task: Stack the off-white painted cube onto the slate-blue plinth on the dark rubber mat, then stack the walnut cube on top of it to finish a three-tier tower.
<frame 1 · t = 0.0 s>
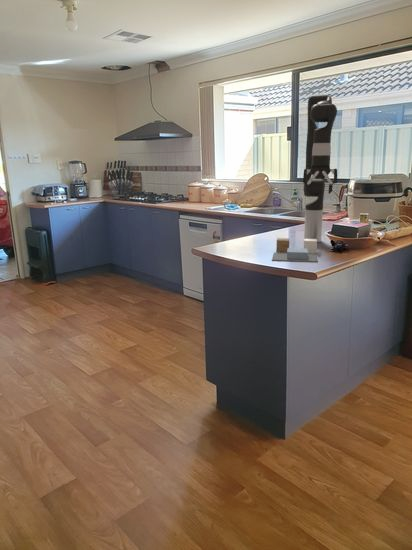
hand: (319, 193, 186), 29 cm above the countertop, fingers open, 8 cm apart
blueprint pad: (297, 257, 198), on the countertop
walnut block: (282, 251, 212), on the countertop
white block: (309, 252, 210), on the countertop
toy: (338, 250, 213), on the countertop
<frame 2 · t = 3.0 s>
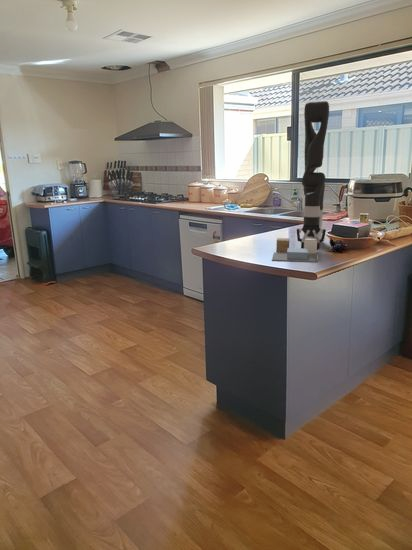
hand: (310, 249, 209), 1 cm above the countertop, fingers closed on white block, 6 cm apart
white block: (309, 251, 210), on the countertop, touching gripper
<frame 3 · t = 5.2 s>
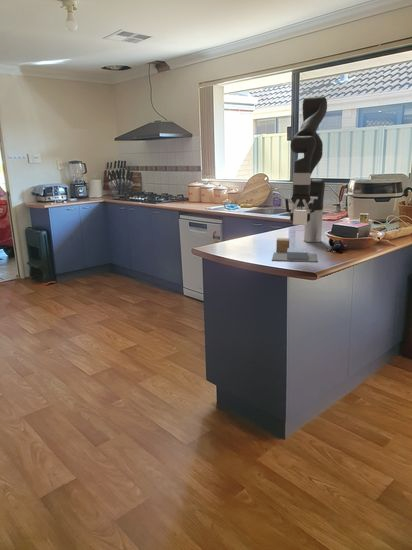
hand: (299, 221, 193), 17 cm above the countertop, fingers closed on white block, 6 cm apart
white block: (299, 223, 194), point 16 cm above the countertop, touching gripper
when the fingers open (6 cm above the countertop, at t = 7.7 s): white block stays where it is, resting on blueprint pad.
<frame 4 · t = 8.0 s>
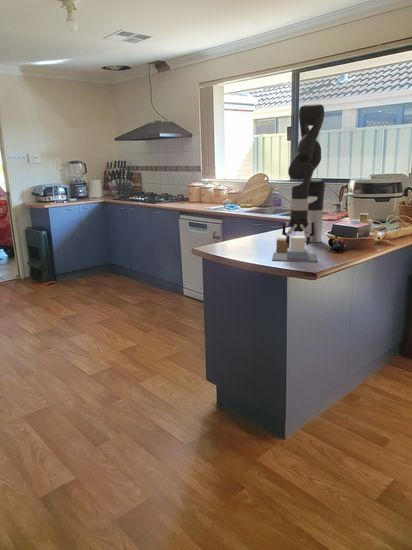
hand: (297, 244, 196), 6 cm above the countertop, fingers open, 8 cm apart
white block: (297, 250, 197), point 3 cm above the countertop, touching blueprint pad
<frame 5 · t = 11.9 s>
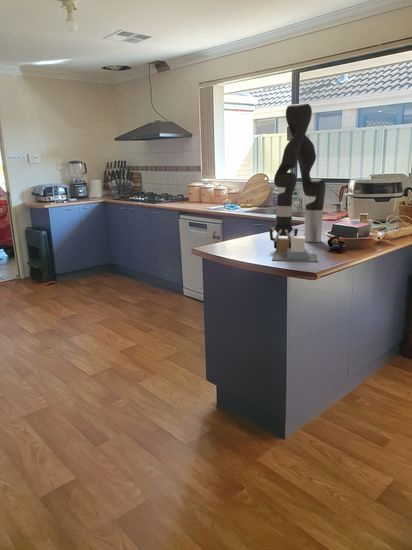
hand: (282, 249, 212), 1 cm above the countertop, fingers closed on walnut block, 6 cm apart
walnut block: (282, 251, 212), on the countertop, touching gripper
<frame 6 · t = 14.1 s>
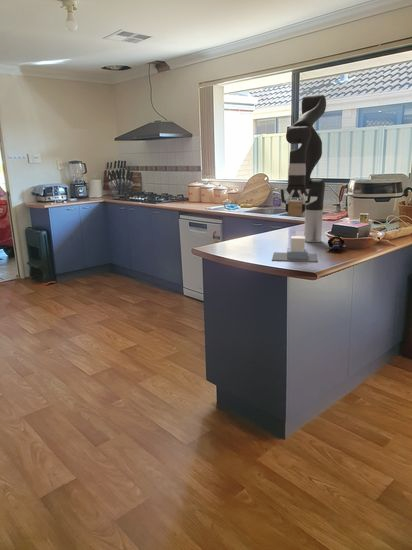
hand: (295, 212, 194), 21 cm above the countertop, fingers closed on walnut block, 6 cm apart
walnut block: (295, 214, 194), point 20 cm above the countertop, touching gripper
when the fingers open (12 cm above the countertop, at t = 16.3 s): walnut block stays where it is, resting on white block.
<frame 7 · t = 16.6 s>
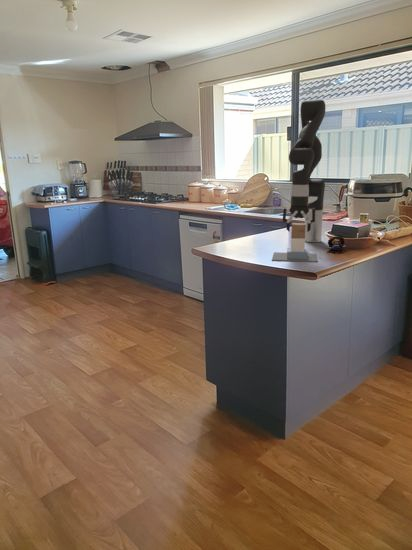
hand: (298, 231, 194), 12 cm above the countertop, fingers open, 8 cm apart
walnut block: (298, 237, 195), point 9 cm above the countertop, touching white block
white block: (297, 250, 197), point 3 cm above the countertop, touching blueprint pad, walnut block
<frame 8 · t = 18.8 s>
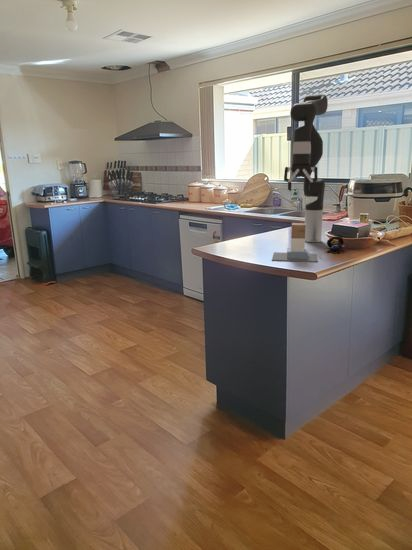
hand: (300, 191, 190), 30 cm above the countertop, fingers open, 8 cm apart
at the end: white block 0.0 cm off-centre on the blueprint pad, point 3.5 cm above the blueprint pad's base; walnut block 0.0 cm off-centre on the white block, point 6.0 cm above the white block's base; walnut block tilted 0° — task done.
